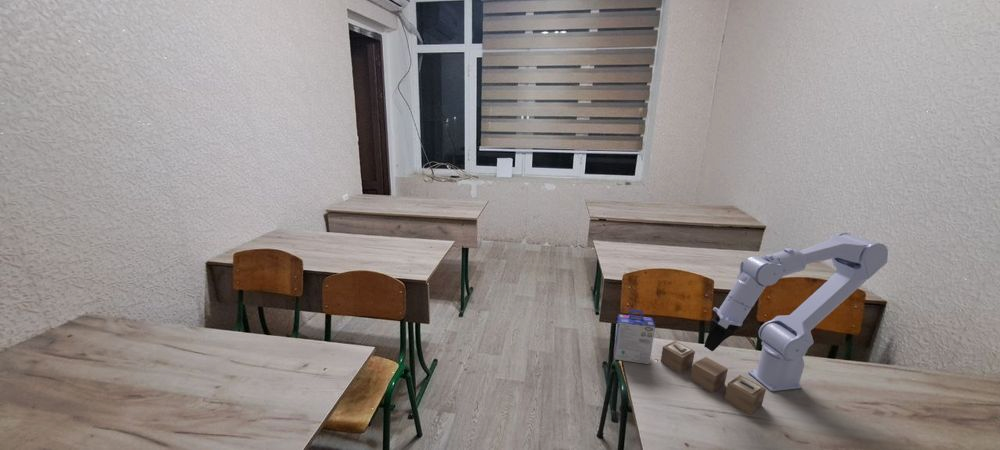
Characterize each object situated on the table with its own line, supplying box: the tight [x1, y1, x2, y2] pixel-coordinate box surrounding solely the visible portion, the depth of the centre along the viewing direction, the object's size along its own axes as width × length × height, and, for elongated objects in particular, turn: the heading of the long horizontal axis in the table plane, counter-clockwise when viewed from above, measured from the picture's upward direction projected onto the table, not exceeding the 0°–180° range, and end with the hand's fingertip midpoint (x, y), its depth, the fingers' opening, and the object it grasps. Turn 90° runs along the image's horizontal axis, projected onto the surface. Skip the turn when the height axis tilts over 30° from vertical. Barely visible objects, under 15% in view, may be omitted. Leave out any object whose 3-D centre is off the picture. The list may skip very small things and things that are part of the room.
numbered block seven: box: [660, 340, 696, 374], centre depth 108 cm, size 6×6×5 cm
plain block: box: [689, 356, 729, 393], centre depth 101 cm, size 6×6×5 cm
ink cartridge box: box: [613, 308, 656, 365], centre depth 110 cm, size 10×6×14 cm, turn 78°
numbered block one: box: [723, 374, 767, 416], centre depth 94 cm, size 6×6×5 cm
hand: (710, 346), depth 98 cm, fingers open, 7 cm apart
